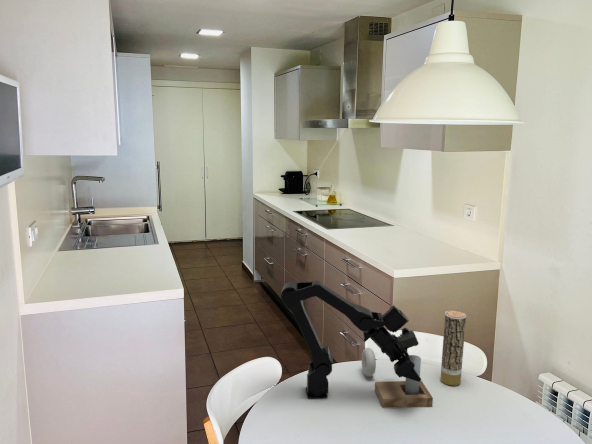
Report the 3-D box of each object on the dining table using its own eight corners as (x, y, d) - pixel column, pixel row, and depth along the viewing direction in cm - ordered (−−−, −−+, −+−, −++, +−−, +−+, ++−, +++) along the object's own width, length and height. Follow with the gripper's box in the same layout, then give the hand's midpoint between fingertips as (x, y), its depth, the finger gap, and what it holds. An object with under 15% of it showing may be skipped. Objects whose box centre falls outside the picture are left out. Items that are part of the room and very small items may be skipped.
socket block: (382, 407, 156) (383, 399, 155) (374, 389, 167) (375, 381, 166) (432, 406, 157) (432, 397, 156) (421, 388, 168) (421, 380, 167)
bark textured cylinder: (461, 387, 169) (467, 318, 165) (441, 385, 170) (446, 316, 166) (459, 378, 176) (464, 311, 171) (439, 376, 177) (444, 309, 173)
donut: (376, 381, 172) (377, 354, 170) (366, 382, 172) (367, 355, 170) (369, 368, 182) (370, 342, 180) (360, 368, 182) (361, 343, 180)
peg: (409, 402, 159) (412, 362, 157) (401, 395, 163) (404, 356, 161) (421, 399, 161) (423, 359, 158) (412, 393, 165) (415, 354, 162)
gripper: (408, 336, 148) (443, 371, 150) (399, 314, 167) (430, 345, 168) (381, 359, 150) (415, 394, 152) (374, 335, 169) (405, 366, 170)
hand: (417, 373), depth 160 cm, fingers open, 9 cm apart
